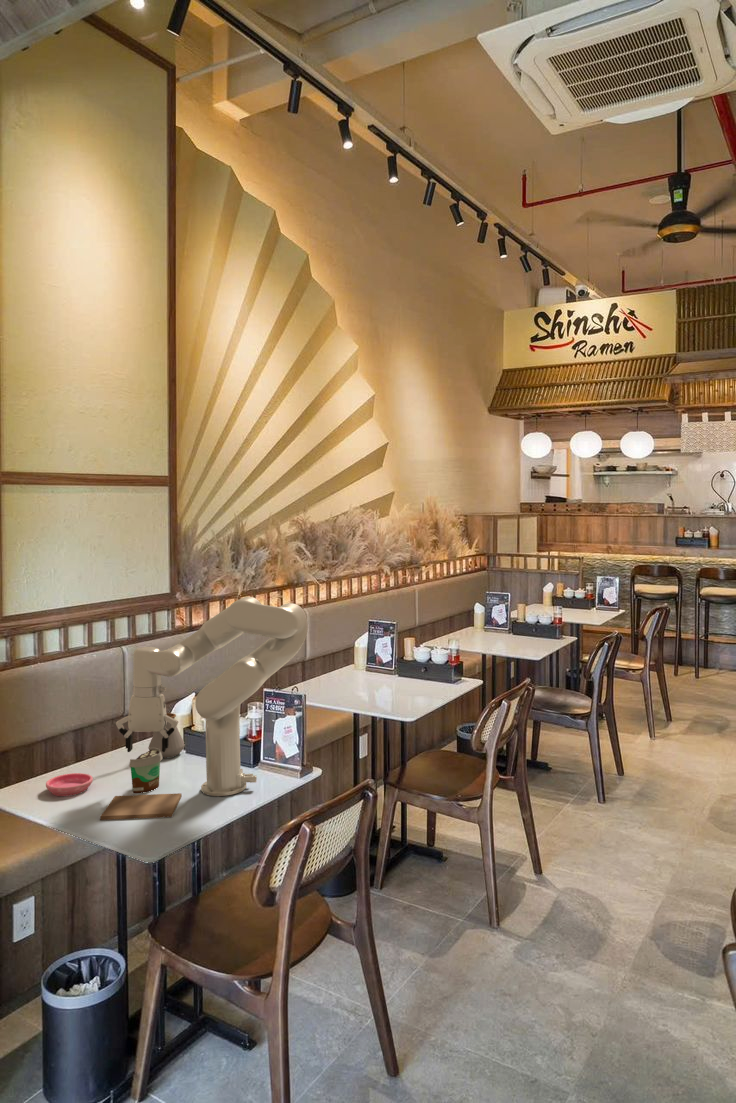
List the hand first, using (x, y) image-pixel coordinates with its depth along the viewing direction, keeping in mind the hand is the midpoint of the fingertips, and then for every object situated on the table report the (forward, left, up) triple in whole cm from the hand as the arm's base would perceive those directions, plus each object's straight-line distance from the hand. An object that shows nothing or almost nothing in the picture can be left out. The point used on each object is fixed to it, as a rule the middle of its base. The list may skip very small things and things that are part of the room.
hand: (147, 750), depth 215 cm
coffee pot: (+4, -27, -11) cm, 29 cm away
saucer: (+22, -1, -11) cm, 25 cm away
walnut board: (-2, +15, -11) cm, 19 cm away
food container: (-1, 0, -11) cm, 11 cm away
